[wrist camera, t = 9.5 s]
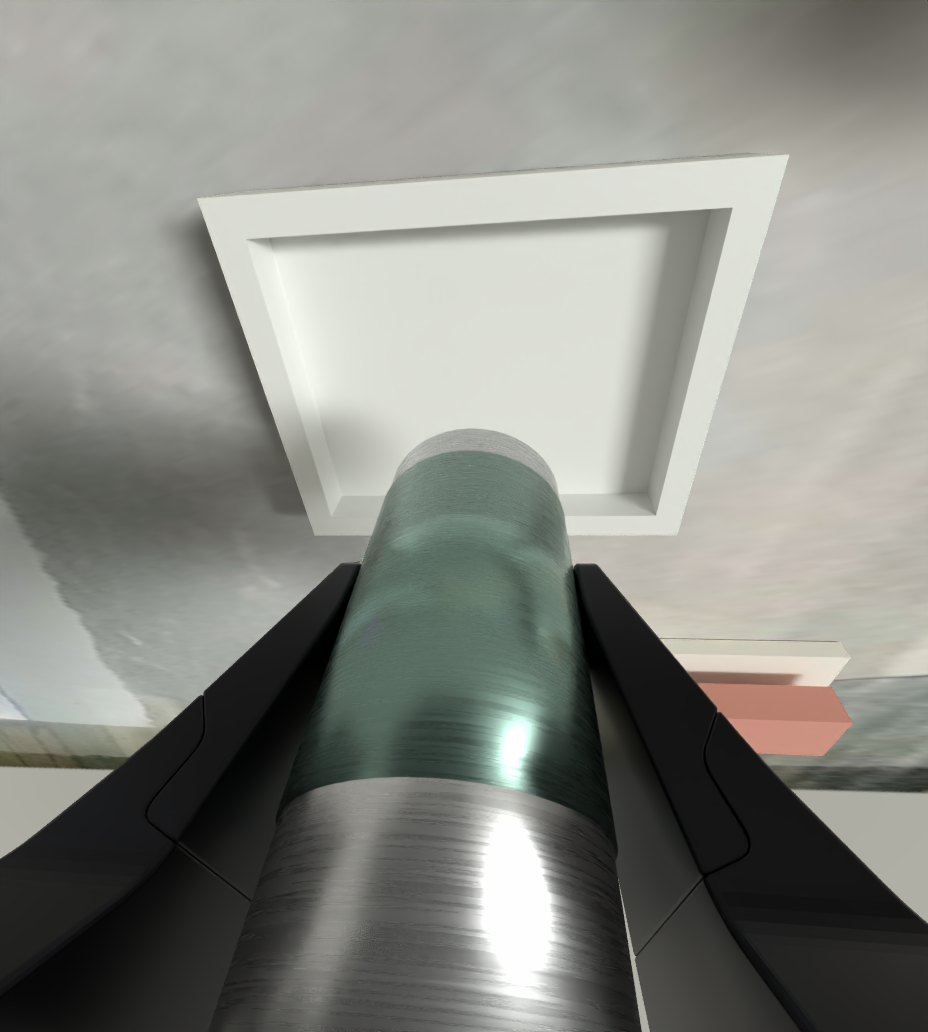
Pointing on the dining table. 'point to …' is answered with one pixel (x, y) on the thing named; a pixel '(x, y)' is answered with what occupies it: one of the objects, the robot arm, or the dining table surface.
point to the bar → (782, 716)
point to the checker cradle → (759, 661)
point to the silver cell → (447, 783)
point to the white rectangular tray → (500, 323)
